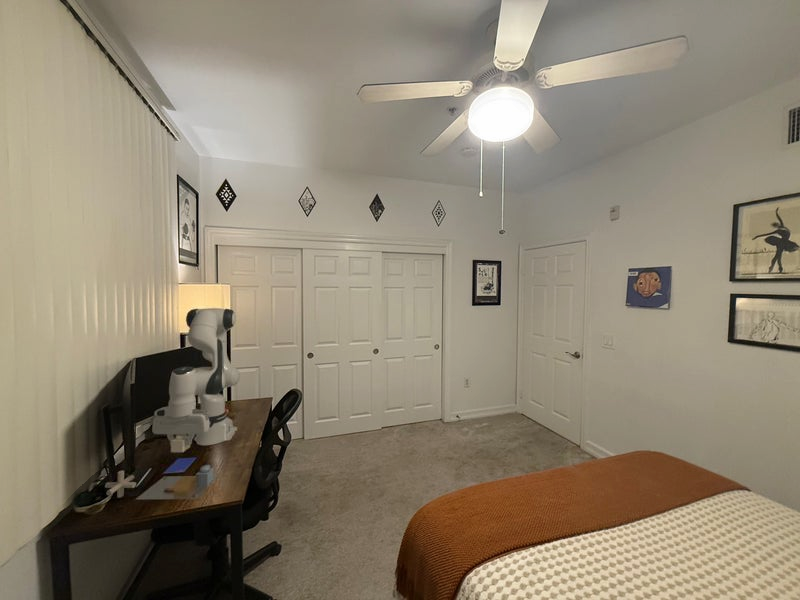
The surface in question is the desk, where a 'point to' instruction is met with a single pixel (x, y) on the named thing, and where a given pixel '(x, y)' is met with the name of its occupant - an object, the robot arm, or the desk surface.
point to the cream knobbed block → (179, 443)
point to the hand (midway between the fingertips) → (180, 444)
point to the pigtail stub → (184, 486)
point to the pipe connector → (120, 484)
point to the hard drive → (180, 465)
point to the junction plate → (169, 482)
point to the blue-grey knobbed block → (205, 475)
